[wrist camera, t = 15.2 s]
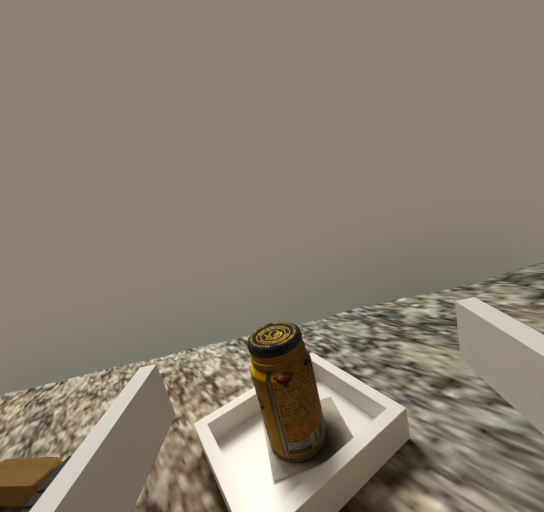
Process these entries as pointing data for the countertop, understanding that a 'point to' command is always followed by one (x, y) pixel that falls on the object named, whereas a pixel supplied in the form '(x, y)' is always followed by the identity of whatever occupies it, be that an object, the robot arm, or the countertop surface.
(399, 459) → the countertop surface
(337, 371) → the tray
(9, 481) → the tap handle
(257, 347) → the condiment
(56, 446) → the countertop surface
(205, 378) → the countertop surface
